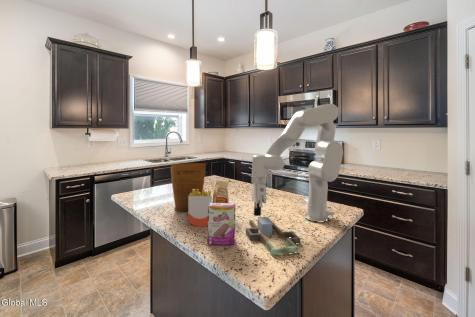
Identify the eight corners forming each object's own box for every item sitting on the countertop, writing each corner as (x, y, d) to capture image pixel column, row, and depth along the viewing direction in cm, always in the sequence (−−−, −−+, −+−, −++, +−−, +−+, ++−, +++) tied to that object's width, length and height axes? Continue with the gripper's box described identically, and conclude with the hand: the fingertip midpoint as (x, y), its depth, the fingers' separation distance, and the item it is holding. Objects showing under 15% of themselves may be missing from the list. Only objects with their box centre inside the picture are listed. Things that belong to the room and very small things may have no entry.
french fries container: (190, 222, 121) (190, 187, 119) (211, 222, 122) (211, 187, 120) (188, 225, 117) (188, 189, 115) (210, 226, 117) (211, 189, 115)
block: (267, 227, 118) (268, 217, 117) (272, 234, 109) (272, 224, 108) (257, 227, 117) (258, 217, 117) (261, 235, 108) (261, 224, 108)
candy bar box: (207, 245, 97) (207, 206, 95) (208, 240, 102) (208, 202, 100) (235, 245, 97) (235, 206, 95) (234, 240, 102) (235, 202, 100)
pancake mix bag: (205, 212, 137) (205, 163, 134) (170, 212, 135) (170, 163, 132) (205, 208, 144) (205, 162, 141) (172, 209, 142) (172, 161, 139)
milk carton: (214, 219, 127) (214, 181, 125) (211, 213, 136) (211, 178, 134) (230, 217, 129) (231, 181, 127) (227, 212, 138) (227, 177, 136)
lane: (277, 222, 123) (277, 218, 123) (308, 252, 93) (308, 246, 92) (240, 225, 119) (240, 220, 118) (260, 257, 88) (260, 250, 88)
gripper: (271, 182, 114) (269, 220, 116) (261, 177, 128) (259, 210, 130) (256, 182, 112) (254, 220, 114) (247, 177, 127) (246, 210, 129)
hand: (257, 215), depth 122 cm, fingers closed
